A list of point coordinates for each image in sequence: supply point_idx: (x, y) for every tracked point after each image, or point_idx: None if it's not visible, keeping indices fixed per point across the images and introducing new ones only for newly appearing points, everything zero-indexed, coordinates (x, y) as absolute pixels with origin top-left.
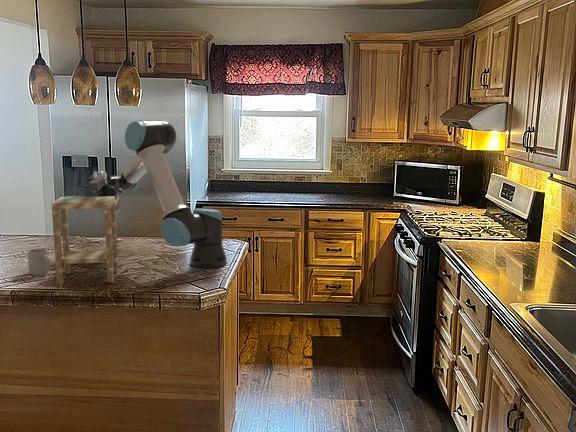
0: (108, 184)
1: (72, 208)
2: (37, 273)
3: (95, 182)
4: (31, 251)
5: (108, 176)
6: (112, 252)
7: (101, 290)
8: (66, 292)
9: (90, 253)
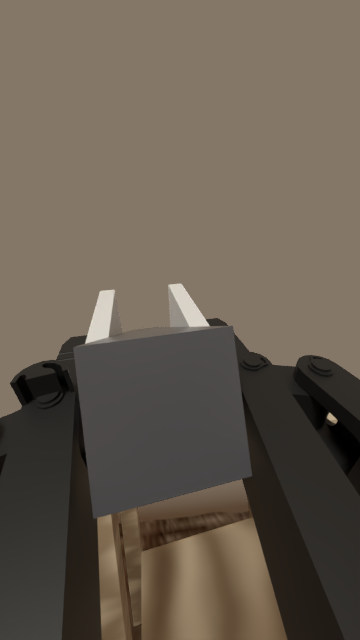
0: (85, 461)
1: None
2: None
3: (138, 329)
4: None
5: (78, 340)
6: (123, 534)
7: (152, 534)
8: (213, 513)
9: (217, 614)
